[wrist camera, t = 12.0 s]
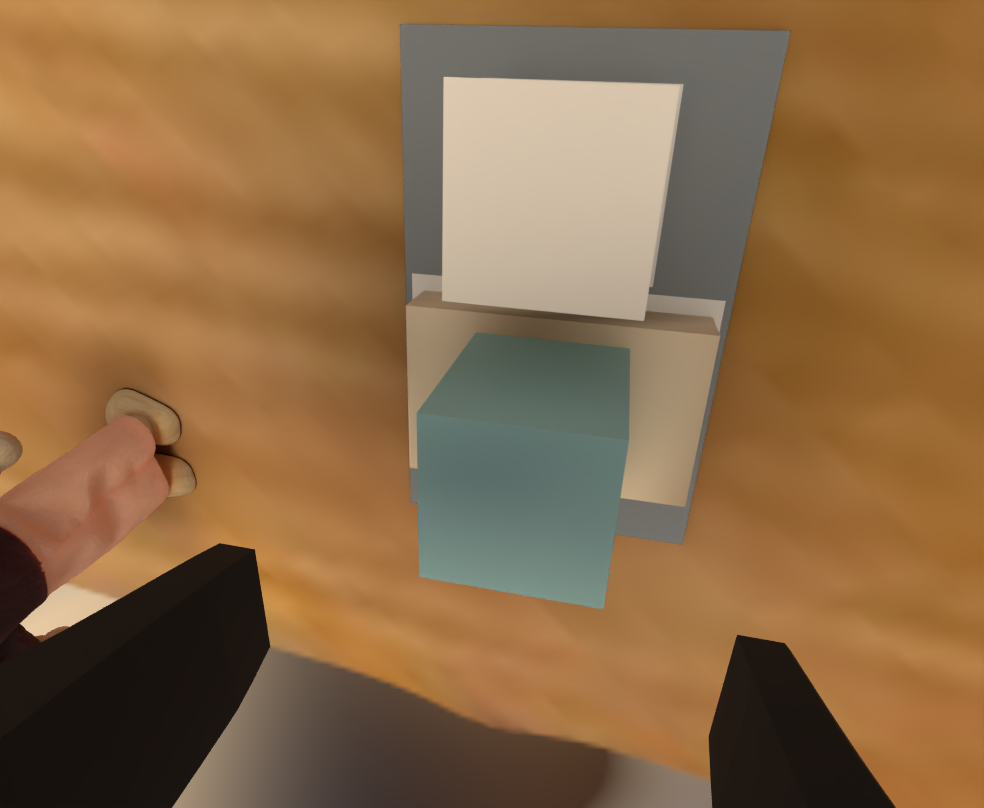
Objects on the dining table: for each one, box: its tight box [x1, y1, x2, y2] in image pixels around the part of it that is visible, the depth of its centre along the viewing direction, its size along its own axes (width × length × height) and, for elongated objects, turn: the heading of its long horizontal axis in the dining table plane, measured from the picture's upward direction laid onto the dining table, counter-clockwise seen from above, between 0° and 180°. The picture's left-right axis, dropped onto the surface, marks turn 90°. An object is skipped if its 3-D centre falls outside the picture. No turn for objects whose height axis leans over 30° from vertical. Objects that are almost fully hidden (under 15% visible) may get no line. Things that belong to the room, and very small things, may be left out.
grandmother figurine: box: [0, 389, 196, 664], centre depth 17 cm, size 8×4×13 cm, turn 11°
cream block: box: [442, 77, 680, 321], centre depth 13 cm, size 4×4×5 cm
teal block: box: [416, 332, 630, 609], centre depth 14 cm, size 4×4×5 cm
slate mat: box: [400, 24, 791, 545], centre depth 17 cm, size 9×14×1 cm, turn 179°
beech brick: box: [406, 291, 720, 507], centre depth 17 cm, size 8×5×2 cm, turn 89°
